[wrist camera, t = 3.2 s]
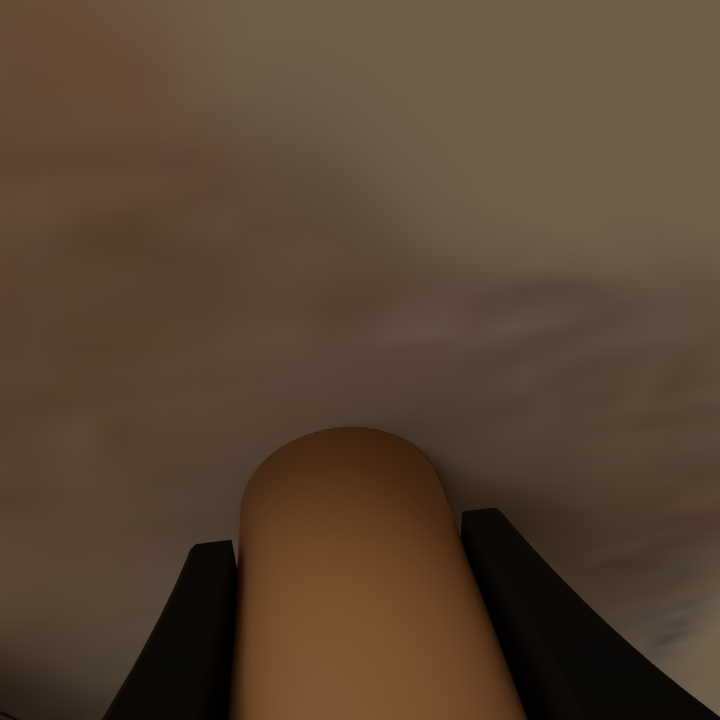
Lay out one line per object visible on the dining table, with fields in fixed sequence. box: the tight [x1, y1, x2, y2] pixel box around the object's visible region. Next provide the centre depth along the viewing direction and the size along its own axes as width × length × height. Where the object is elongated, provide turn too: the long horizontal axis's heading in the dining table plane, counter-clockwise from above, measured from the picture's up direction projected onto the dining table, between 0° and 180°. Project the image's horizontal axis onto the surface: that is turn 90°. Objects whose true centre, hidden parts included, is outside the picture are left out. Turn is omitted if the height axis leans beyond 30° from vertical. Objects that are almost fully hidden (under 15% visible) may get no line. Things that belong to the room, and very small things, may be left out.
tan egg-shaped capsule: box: [228, 427, 528, 720], centre depth 10 cm, size 4×4×6 cm
